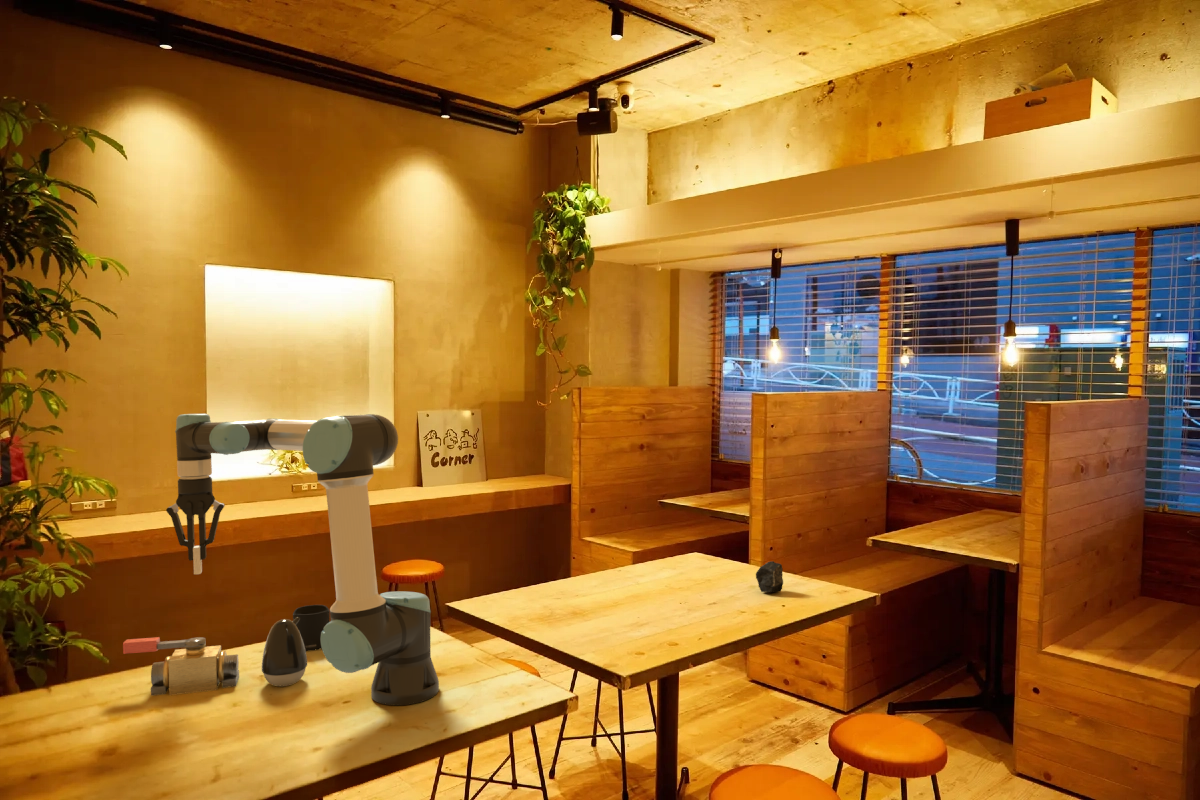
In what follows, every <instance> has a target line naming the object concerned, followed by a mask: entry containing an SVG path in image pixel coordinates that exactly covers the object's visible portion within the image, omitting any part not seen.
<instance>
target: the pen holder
mask: <svg viewBox="0 0 1200 800" xmlns="http://www.w3.org/2000/svg"><path fill="white" fill-rule="evenodd" d="M296 617H299V618H300V620H299V622H298V623H297V624H296V626H297V628H298V630H299V632H300V634H301V636H302V639H303V642H304V646H305V650H306V652H311V651H317V650H322V647H321V640H320V639H321V632H322V631H323V630H324V627H325V625H327V624H328V623H329V622H330V608H328V606H327V605H324V604H310V605H303V606H300V607H297V608H295V609H294V611H293V613H292V621H293V620H294V619H295V618H296Z"/></svg>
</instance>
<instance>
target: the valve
mask: <svg viewBox="0 0 1200 800" xmlns="http://www.w3.org/2000/svg"><path fill="white" fill-rule="evenodd" d="M239 663H240V662H239V654H237V653H236V654H230V655H227V651H226V650H222V645H211V646H205V647H203V648H199V649H193V650H188V649H185V648H181V649H179V648H177V649H174V652H173V653H172V655H170V656H169V655H168V656H166V657H165V659H164V661H158V662H153V663H152V665H151V669H150V682H151V687H150V696H159V695H166V694H167V692H168V691H169V692H168V693H169V694H168V695H169V696H173V695H181V694H192V693H199V692H200V693H201V692H211V691H218V688H219V685H220V684H221V688H223V689H224V688H231V687H236V686H237V684H238V682H239V678H240V670H239Z"/></svg>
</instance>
